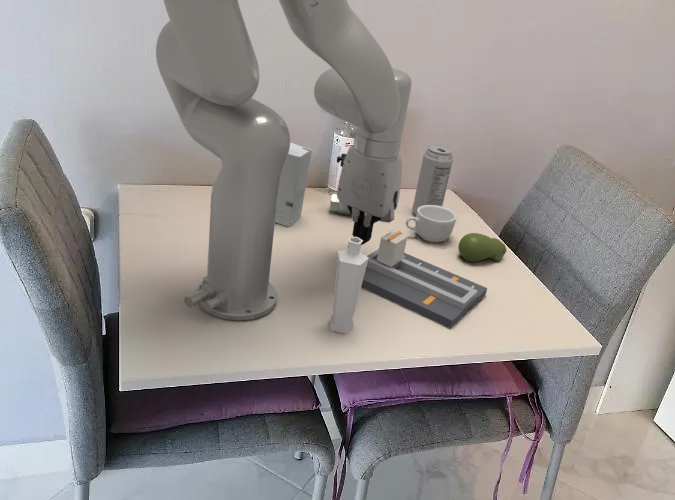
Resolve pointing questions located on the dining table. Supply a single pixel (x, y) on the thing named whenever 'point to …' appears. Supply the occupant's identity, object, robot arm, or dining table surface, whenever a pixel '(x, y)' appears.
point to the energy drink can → (433, 177)
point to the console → (423, 288)
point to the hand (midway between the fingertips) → (360, 241)
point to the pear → (481, 247)
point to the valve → (335, 203)
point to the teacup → (433, 222)
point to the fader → (392, 249)
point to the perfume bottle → (348, 285)
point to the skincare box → (292, 185)
